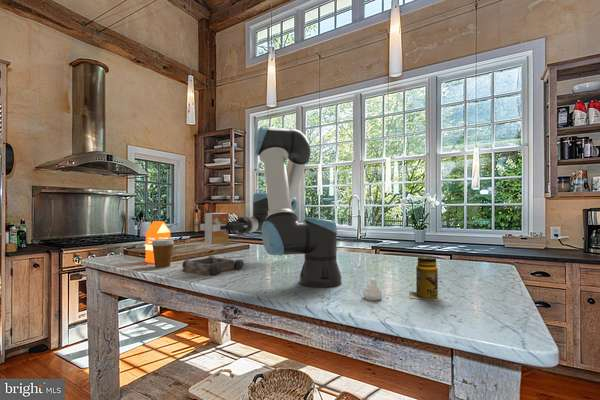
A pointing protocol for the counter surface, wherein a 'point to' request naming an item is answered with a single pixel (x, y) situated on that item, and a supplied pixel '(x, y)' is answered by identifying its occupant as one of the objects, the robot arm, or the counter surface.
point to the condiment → (426, 279)
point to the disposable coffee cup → (162, 252)
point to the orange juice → (155, 237)
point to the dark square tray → (211, 265)
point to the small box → (216, 236)
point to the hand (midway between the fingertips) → (207, 227)
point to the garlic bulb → (372, 291)
